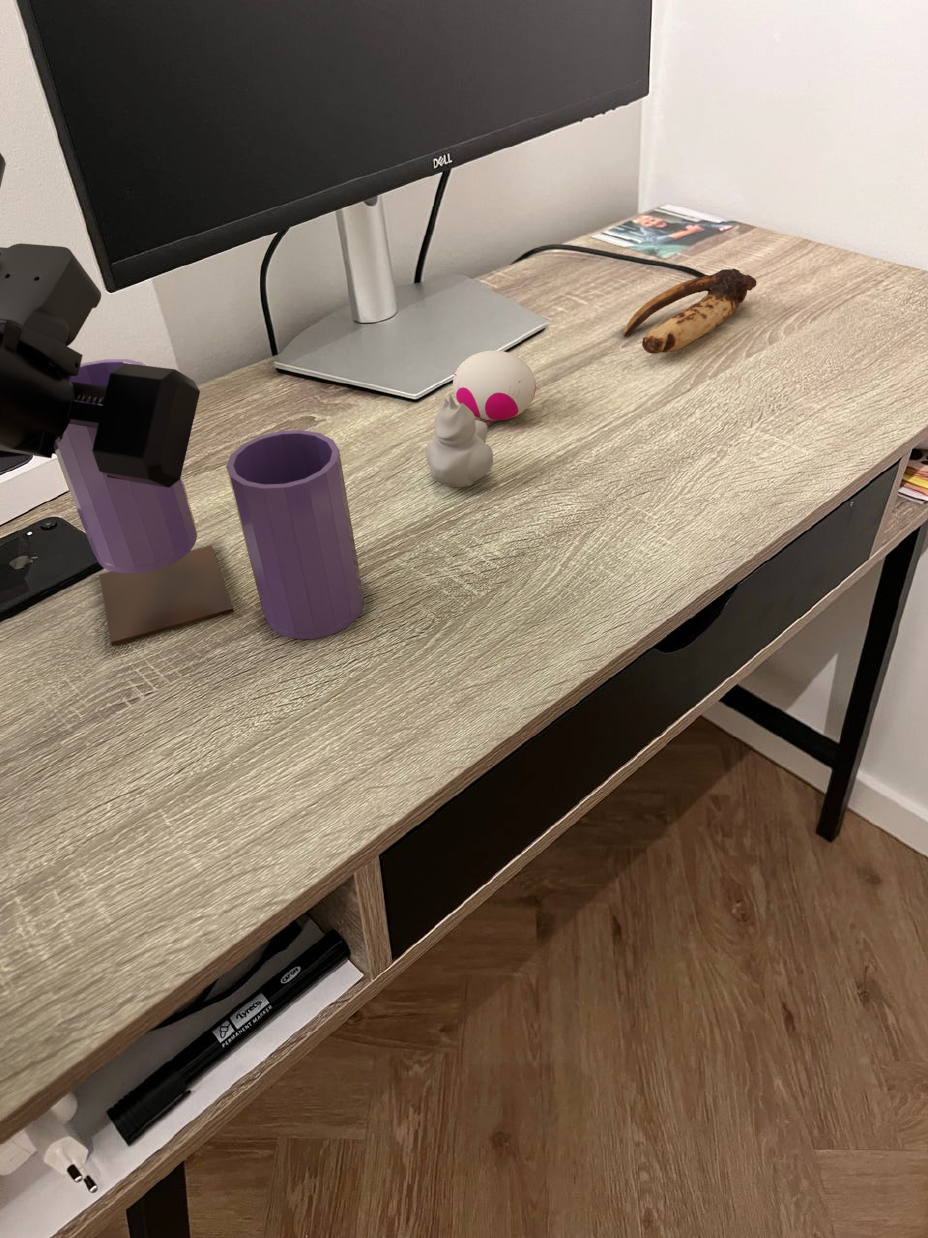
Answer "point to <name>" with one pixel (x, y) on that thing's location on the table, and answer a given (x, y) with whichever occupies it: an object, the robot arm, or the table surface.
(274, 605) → the tumbler
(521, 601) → the table surface
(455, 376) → the stress ball
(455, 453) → the rubber duck
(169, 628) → the coaster
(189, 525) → the tumbler
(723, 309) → the lashed bone hook
